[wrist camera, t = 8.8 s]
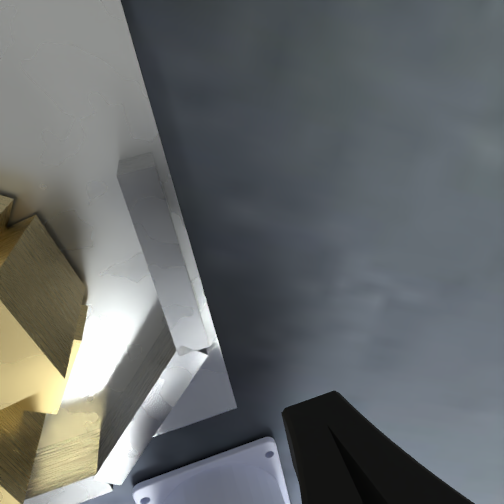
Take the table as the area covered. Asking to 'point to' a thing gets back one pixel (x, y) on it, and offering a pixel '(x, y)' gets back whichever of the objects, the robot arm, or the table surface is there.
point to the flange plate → (104, 242)
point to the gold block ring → (32, 342)
